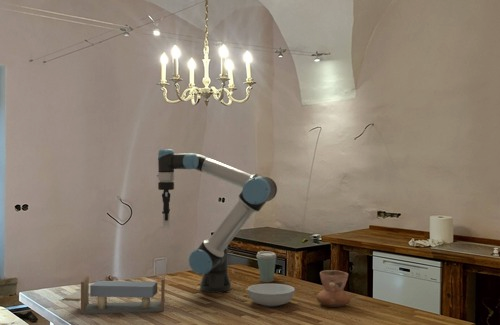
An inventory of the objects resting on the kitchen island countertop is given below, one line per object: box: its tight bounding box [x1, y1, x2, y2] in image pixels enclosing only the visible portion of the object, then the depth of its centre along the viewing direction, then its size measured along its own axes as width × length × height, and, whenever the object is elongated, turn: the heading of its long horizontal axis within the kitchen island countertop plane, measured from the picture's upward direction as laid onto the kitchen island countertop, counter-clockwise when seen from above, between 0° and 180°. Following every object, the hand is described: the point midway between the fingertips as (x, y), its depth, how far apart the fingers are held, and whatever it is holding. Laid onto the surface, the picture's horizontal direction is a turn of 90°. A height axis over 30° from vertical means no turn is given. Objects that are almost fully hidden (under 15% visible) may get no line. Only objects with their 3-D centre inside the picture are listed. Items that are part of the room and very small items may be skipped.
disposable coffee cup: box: [256, 250, 277, 283], centre depth 271 cm, size 11×11×15 cm
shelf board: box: [89, 280, 158, 299], centre depth 217 cm, size 9×26×4 cm, turn 87°
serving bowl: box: [247, 283, 296, 307], centre depth 227 cm, size 21×21×7 cm
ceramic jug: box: [316, 269, 351, 308], centre depth 226 cm, size 18×14×14 cm
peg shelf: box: [80, 273, 166, 315], centre depth 217 cm, size 12×33×13 cm, turn 99°
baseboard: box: [61, 280, 103, 302], centre depth 245 cm, size 30×3×10 cm
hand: (166, 225), depth 247 cm, fingers open, 13 cm apart
